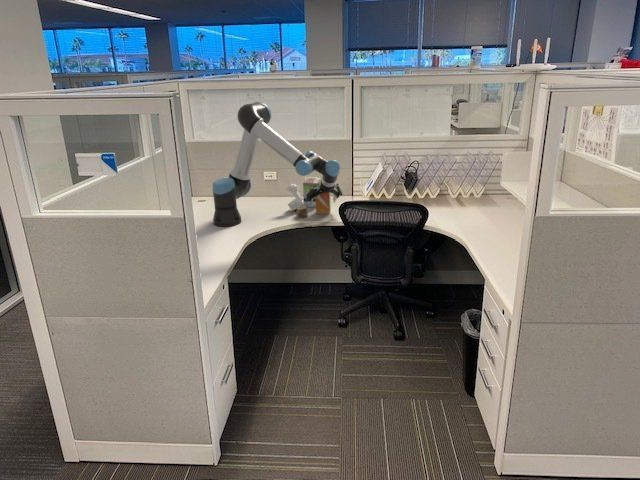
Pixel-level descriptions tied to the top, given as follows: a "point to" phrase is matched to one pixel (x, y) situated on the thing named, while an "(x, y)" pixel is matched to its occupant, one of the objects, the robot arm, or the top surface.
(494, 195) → the top surface
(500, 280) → the top surface
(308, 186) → the tea box
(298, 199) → the voxel character
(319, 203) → the small box
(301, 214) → the walnut block
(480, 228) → the top surface
